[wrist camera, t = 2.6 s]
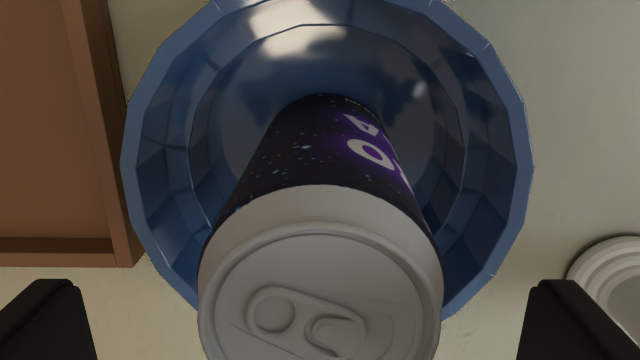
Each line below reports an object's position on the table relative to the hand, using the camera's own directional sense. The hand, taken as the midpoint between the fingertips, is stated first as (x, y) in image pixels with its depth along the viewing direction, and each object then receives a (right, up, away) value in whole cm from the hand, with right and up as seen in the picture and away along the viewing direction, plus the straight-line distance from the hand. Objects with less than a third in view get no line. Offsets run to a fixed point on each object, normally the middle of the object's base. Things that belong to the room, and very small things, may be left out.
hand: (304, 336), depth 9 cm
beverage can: (+1, +5, +11) cm, 12 cm away
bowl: (+1, +5, +11) cm, 12 cm away
